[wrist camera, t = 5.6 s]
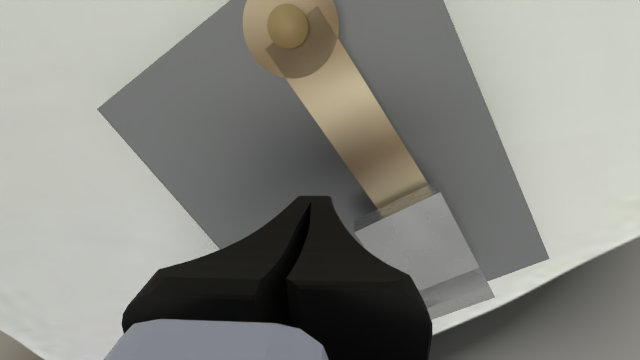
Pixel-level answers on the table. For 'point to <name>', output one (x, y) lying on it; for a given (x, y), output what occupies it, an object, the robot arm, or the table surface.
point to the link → (331, 91)
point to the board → (310, 141)
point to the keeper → (426, 250)
